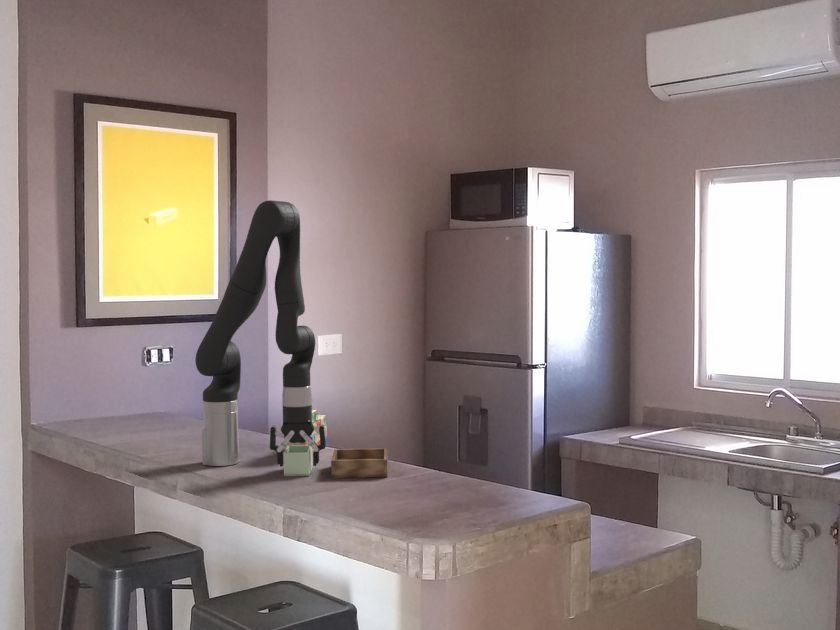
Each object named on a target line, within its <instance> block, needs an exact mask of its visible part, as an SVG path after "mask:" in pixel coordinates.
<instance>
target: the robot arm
mask: <svg viewBox="0 0 840 630" xmlns="http://www.w3.org/2000/svg"><path fill="white" fill-rule="evenodd" d="M249 225H250V226H249V228H248V232H247V234H246V235H247V236H246V239H245V241H244V245H243V248H242V250H241V253H240V254H239V255H240V256H239V257H238V261H237V263H236V265H235V268H234V270H233V272H232V274H231V277H230V279H229V281H228V284H227V287H226V288H225V292H224V295H223V297H222V299H221V302H220V304H219V306H218V308H217V311H216V313H215V315H214V318H213V320H212V322H211V324H210V326H209V328H208V330H207V331H206V333H205V335H204V337H203V338H202V341H201V342H200V344H199V346H198V348H197V351H196V353H195V367H196V370H197V371H198V372H199V374H200V375H202V376H205V377H212V381H211V382H210V384H209V385H208V386H207V387H206V388H205V389H203V391H202V413H203V415H202V417H203V421H202V422H203V428H202V430H201V445H202V446H201V447H202V448H201V449H202V466H210V467H223V466H232V465H236V464H238V463H240V452H239V450H240V449H239V448H240V447H239V445H240V442H239V409H238V408H239V407H238V405H239V404H238V402H239V401H238V397H239V395H238V394H239V391H240V389H241V376H242V375H241V373H242V370H241V369H242V366H241V365H242V361H241V360H242V359H241V358H242V357H241V353H240V349H239V347H238V346H237V344H236V342H233V341H231V340H232V339H233V337H234V335H235V333H237V331H238V330H239V329H240V327H241V326H242V325H243V324H244V323H246V321H248V319H249V318H250V317H251V316H252V314H253V313H254V312H255V311H256V309H257V307H258V305H259V304H260V301H261V299H262V296H263V294H264V292H265V289H266V287H267V266H266V265H267V263H266V262H267V257H268V253H269V251H270V249H271V246H272V244H273V241H274V240H275V238H276V239H277V243H278V248H279V259H278V265H277V270H276V274H275V279H274V295H275V302H276V303H275V304H276V308H277V309H276V310H277V316H276V325H275V335H274V336H275V343H276V345H277V348H278V349H279V351H280V352H281V353H283V354H284V355H291V359H290V361H289V362H287V363H286V364H284V366H283V368H282V394H281V395H282V399H281V401H282V402H281V403H282V426H276V425H272V426H271V427H270V428H269V429H270V430H269V431H270V433H269V449H270V451H275V452H276V459H277V461H276V463H277V465H279V467H280V468H281V467H283V468H284V456H283V453H284V450H283V449H285V448H284V447H285V446H286V444H287V443H288V441H289V442H291V443H297V442H299V443H304V442H307V443H308V444H309V445H310V446H311V447H312V449H313V450H314V451H313V456H312V467H317V465H318V464H319V461H320V451H321V450H324V449H326V447H327V446H326V439H325V427H324V425H320V426H313V424H312V410H313V398H312V397H313V396H312V388H311V367H312V365H313V359H314V355H315V350H316V337H315V334H314V332H313V330H312V328H311V327H309V326H307V325H298V319H299V317H300V316H301V315H303V314H304V313H305V311H306V305H305V299H304V294H303V285H302V275H301V216H300V212H299V210H298V208H297V207H296V206H295V204H293V203H291V202H290V201H283V200H282V201H280V200H272V199H271V200H265V201H262V202H260V204H259V205H258V206H256V209H255V211H254V213H253V216H252V219H251V222H250V224H249ZM314 430H315V431H316V432H317V434H320V444H319V445H317V443H316V442H315V441H314V439H313V438H312V437H311V434H312V433H313V431H314ZM280 432H281V433H282V434H283V437H284V436H285V439H283V440H282V442H280V444H279V445H277V443H276V441H277V435H279V433H280Z"/></svg>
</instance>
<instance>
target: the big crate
mask: <svg viewBox="0 0 840 630" xmlns="http://www.w3.org/2000/svg"><path fill="white" fill-rule="evenodd" d="M330 466H331V467H330V469H331V470H330V478H331V479H364V478H365V477H381V478H388V469H389V468H388V448H386V447H385V448H381V447H380V448H343V449H341V448H340V449H339V448H338V449H334V450H333V453H332V456H331V459H330ZM387 468H388V469H387ZM365 479H366V478H365Z"/></svg>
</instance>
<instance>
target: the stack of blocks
mask: <svg viewBox="0 0 840 630" xmlns="http://www.w3.org/2000/svg"><path fill="white" fill-rule="evenodd" d="M312 424H313V426H320V425H324V427H325V439H326V447H327V446H328V428H327V427H328V426H327V415H326V414H318V409H312ZM311 437H312V438H313V439H314V441H315V442H316V443H317V445H319V444H320V434H317V432H316V431H315V430H314V431H313V433H312V434H311ZM283 438H284V439H285V436H284V435H283ZM284 439H283V440H284ZM292 445H309V444H308V443H307V442H304V443H299V442H297V443H291V442H289V441H288V443H287V444H286V446H285V447H284V448H283V449H284V450H283V452H284V451H285V449H286V448H287V446H292ZM313 451H314V450H313V449H312V457H313Z"/></svg>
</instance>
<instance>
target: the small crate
mask: <svg viewBox="0 0 840 630" xmlns="http://www.w3.org/2000/svg"><path fill="white" fill-rule="evenodd" d="M284 449H285V448H284ZM283 461H284V465H283V477H284V478H285V477H287V478H288V477H310V476H311V473H312V469H313V456H312V447H311V446H310V445H292V446H287V448H286V449H285V451H284V450H283Z"/></svg>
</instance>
